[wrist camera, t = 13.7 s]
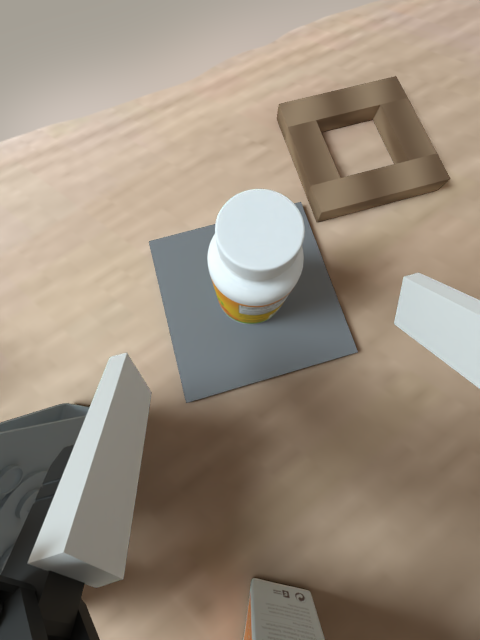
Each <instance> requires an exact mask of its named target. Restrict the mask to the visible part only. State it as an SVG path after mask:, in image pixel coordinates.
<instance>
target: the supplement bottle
mask: <svg viewBox="0 0 480 640" xmlns="http://www.w3.org/2000/svg"><path fill="white" fill-rule="evenodd" d="M304 235H305V227H304V221H303V218H302V215H301V213H300V211H299V210H298V208H297V207H296V205H295V204H294V203H293V202H292V201H291V200H290V199H288V198H287V197H285V196H284V195H282V194H280V193H278V192H275V191H272V190H267V189H251V190H247V191H243V192H241V193H239V194H237V195H235V196H234V197H232V198H231V199H229V200H228V201H227V202H226V203H225V205H224V206H223V207H222V209H221V210H220V212H219V214H218V216H217V220H216V224H215V234H214V236H213V238H212V240H211V242H210V245H209V249H208V256H207V261H208V269H209V273H210V276H211V279H212V283H213V286H214V289H215V292H216V295H217V298H218V301H219V304H220V306H221V308H222V309H223V311H224V312H225V313H226V314H227V315H228V316H229V317H230V318H231V319H233V320H235V321H237V322H239V323H243V324H259V323H262V322H264V321H266V320H268V319H270V318H271V317H272V316H273V315H274V314H275V313H276V312H277V311H278V310H279V309H280V307H281V305H282V304H283V303H284V301H285V300H286V298H287V297H288V295H289V294H290V292H291V291H292V289H293V288H294V287H295V285H296V283H297V282H298V280H299V277H300V275H301V272H302V269H303V261H304V255H303V248H302V244H303V240H304Z"/></svg>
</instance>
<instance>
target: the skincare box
mask: <svg viewBox="0 0 480 640" xmlns="http://www.w3.org/2000/svg"><path fill="white" fill-rule="evenodd" d="M243 640H325V638H324V635H323V631H322V628H321V625H320V622H319V618H318V615H317V611H316V608H315V605H314V601H313V598H312V595H311V592H310V591H308V590H305V589H301V588H296V587H292V586H287V585H283V584H278V583H273V582H269V581H265V580H261V579H257V578H253V579H252V580H251V587H250V595H249V603H248V610H247V617H246V625H245V632H244V638H243Z"/></svg>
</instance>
